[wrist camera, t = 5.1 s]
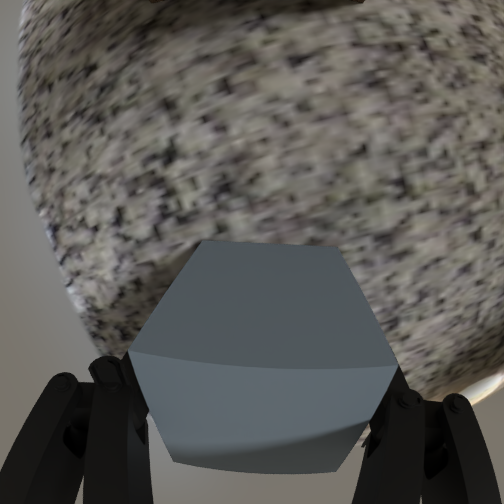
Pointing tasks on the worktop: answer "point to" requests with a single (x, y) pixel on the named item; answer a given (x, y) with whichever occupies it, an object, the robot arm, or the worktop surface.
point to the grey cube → (262, 359)
